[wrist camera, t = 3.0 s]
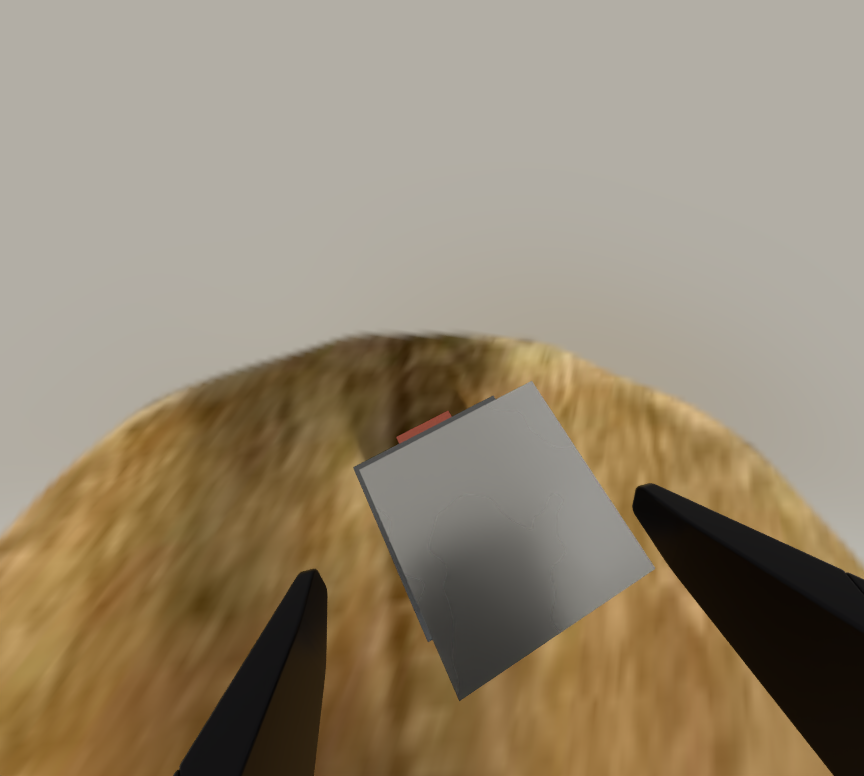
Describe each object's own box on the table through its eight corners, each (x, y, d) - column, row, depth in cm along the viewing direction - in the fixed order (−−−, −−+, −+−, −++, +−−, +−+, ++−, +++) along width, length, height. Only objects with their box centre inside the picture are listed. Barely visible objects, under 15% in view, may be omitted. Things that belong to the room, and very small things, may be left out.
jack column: (510, 519, 16) (663, 571, 6) (438, 562, 15) (456, 712, 5) (469, 446, 17) (533, 375, 7) (401, 483, 16) (352, 467, 6)
